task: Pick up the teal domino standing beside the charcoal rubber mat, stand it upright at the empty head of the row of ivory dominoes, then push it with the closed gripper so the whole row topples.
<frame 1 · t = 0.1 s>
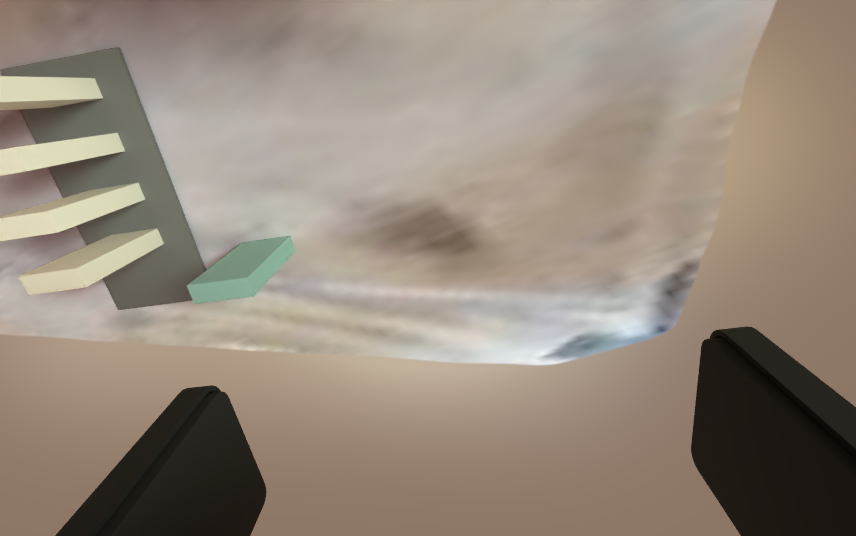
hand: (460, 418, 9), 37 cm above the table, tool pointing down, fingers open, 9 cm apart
domino 5: (72, 93, 41), resting on domino mat
teal domino: (268, 246, 47), on the table
domino mat: (120, 193, 45), on the table
domino 3: (117, 194, 45), resting on domino mat
domino 2: (137, 239, 47), resting on domino mat
domino 4: (96, 146, 43), resting on domino mat
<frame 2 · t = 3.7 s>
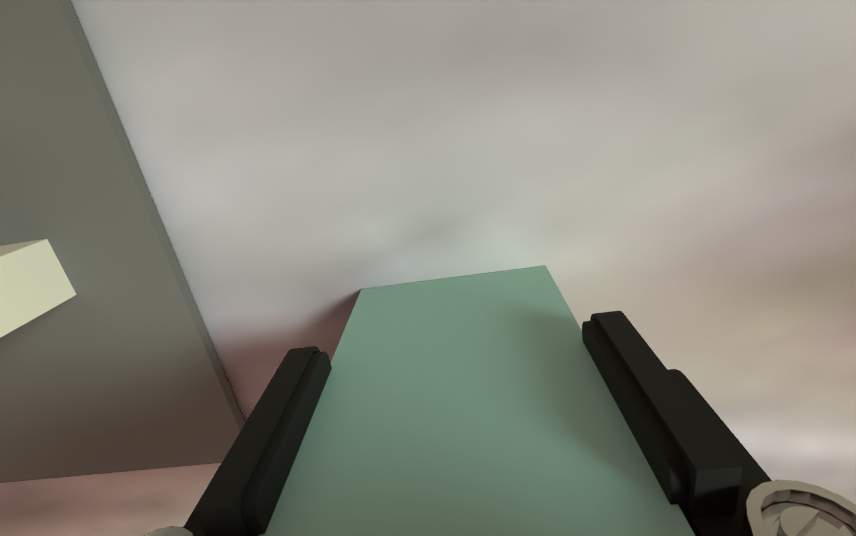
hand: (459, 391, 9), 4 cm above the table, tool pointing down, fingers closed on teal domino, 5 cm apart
teal domino: (455, 304, 13), on the table, touching gripper
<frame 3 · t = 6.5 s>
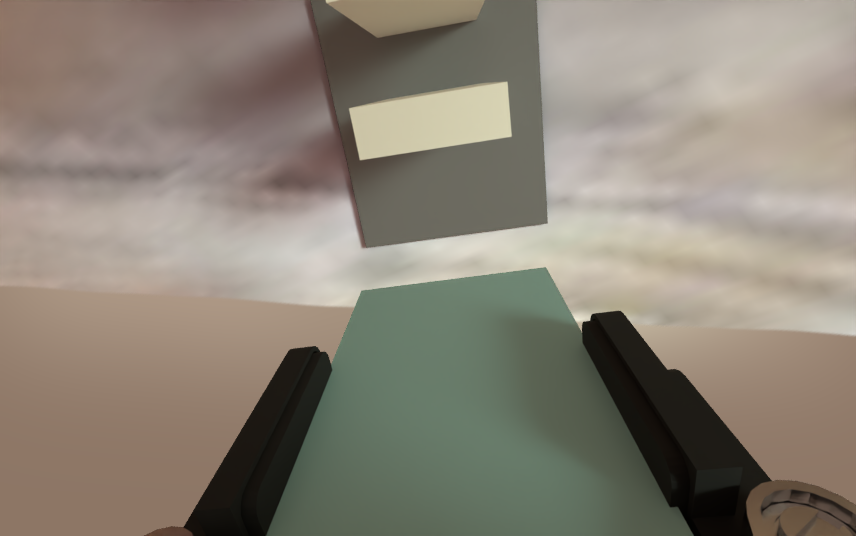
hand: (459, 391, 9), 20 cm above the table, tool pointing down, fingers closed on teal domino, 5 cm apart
teal domino: (455, 305, 13), point 16 cm above the table, touching gripper
domino mat: (424, 11, 24), on the table
domino 3: (423, 10, 23), resting on domino mat
domino 2: (437, 107, 25), resting on domino mat
when the fingers open (5 cm above the table, at t = 9.7 s): teal domino stays where it is, resting on domino mat.
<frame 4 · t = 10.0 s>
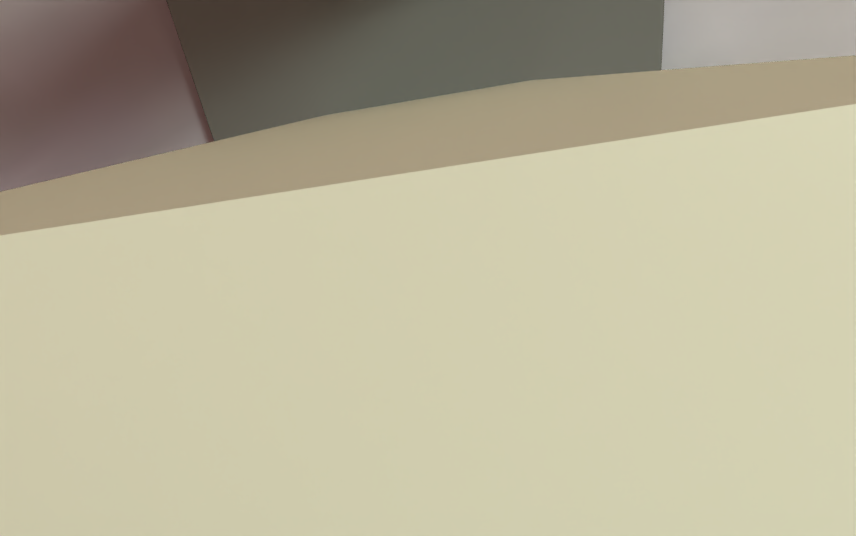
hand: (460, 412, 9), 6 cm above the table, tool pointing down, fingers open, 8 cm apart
domino 2: (430, 133, 12), resting on domino mat
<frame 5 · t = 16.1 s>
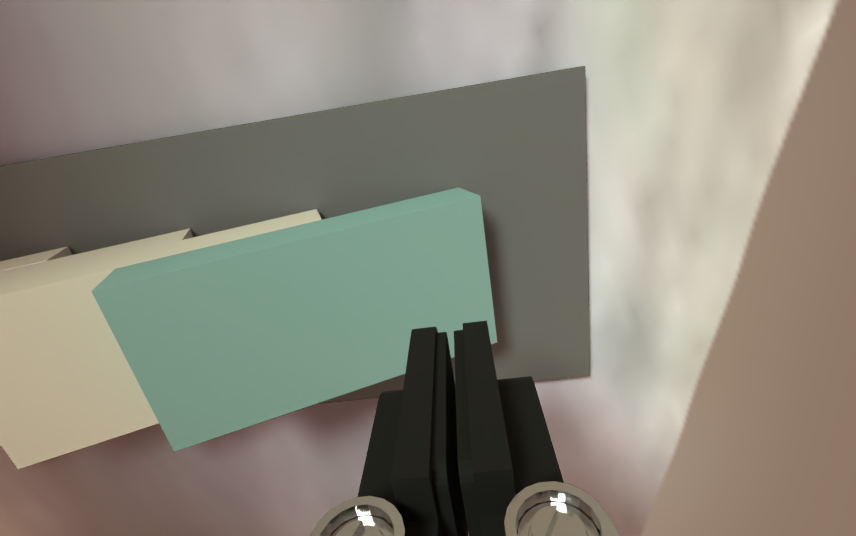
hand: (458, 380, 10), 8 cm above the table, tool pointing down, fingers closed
teal domino: (478, 266, 15), point 1 cm above the table, tilted 69°, touching domino 2, domino mat
domino mat: (258, 283, 17), on the table
domino 3: (212, 301, 16), point 1 cm above the table, tilted 68°, touching domino 2, domino 4, domino mat
domino 2: (337, 284, 16), point 1 cm above the table, tilted 68°, touching domino 3, domino mat, teal domino
domino 4: (92, 317, 17), point 1 cm above the table, tilted 68°, touching domino 3, domino 5
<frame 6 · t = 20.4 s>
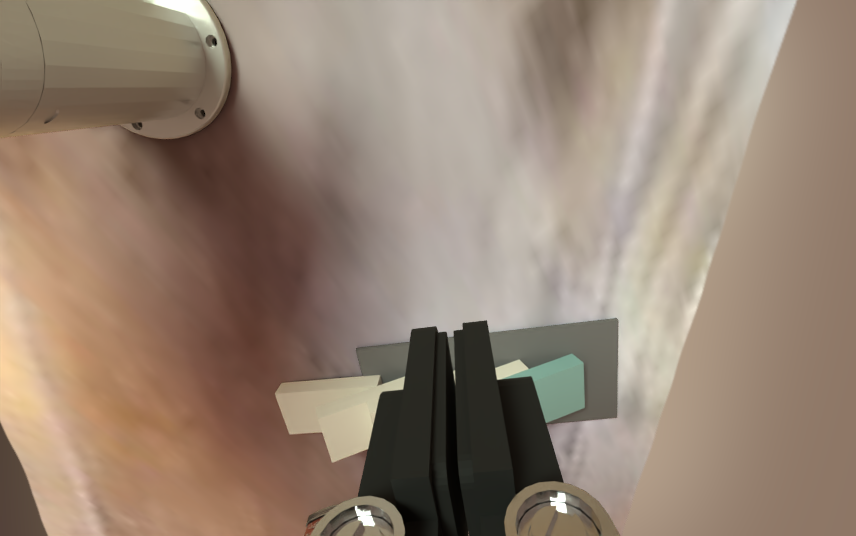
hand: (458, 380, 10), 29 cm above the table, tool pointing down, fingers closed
domino 5: (383, 401, 45), point 1 cm above the table, tilted 93°, touching domino 4, domino mat
teal domino: (578, 380, 43), point 1 cm above the table, tilted 69°, touching domino 2, domino mat
lighter: (337, 513, 54), on the table
domino mat: (488, 382, 45), on the table
domino 2: (525, 386, 44), point 1 cm above the table, tilted 68°, touching domino 3, domino mat, teal domino
domino 4: (429, 396, 44), point 1 cm above the table, tilted 68°, touching domino 3, domino 5
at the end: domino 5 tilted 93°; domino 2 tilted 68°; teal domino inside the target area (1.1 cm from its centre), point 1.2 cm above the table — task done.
